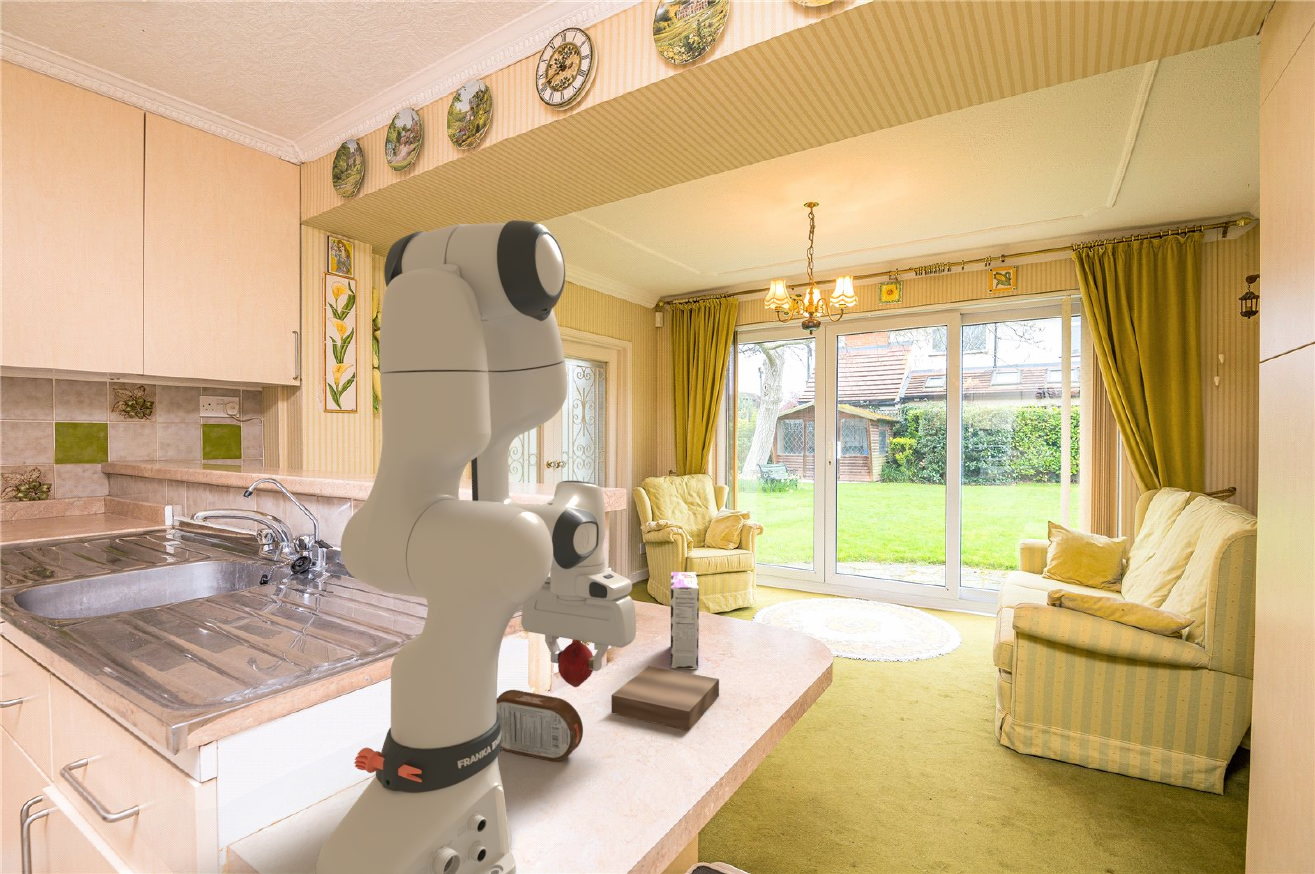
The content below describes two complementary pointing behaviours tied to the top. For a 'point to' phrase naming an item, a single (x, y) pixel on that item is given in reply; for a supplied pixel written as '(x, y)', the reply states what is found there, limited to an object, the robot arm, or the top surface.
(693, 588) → the candy box
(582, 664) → the onion
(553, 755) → the tin
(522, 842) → the top surface
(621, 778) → the top surface
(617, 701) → the walnut block
